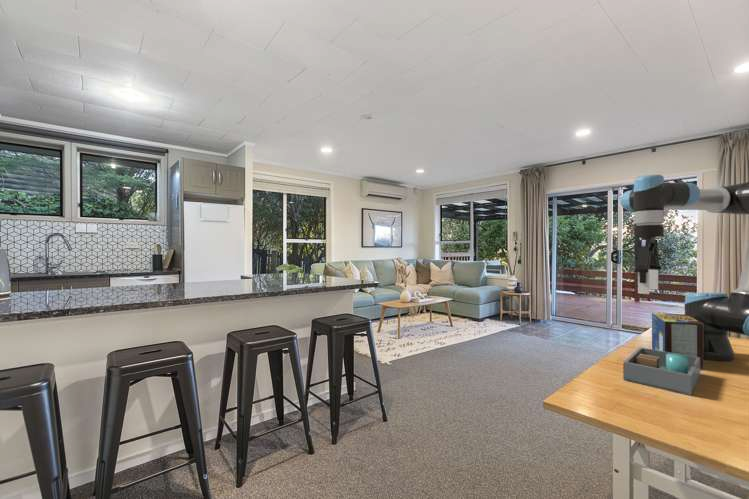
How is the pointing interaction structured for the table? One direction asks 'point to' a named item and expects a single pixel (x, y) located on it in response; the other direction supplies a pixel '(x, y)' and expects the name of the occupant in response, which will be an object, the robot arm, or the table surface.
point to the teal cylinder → (677, 363)
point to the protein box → (677, 334)
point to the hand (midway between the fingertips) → (648, 291)
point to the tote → (661, 372)
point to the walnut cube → (648, 360)
